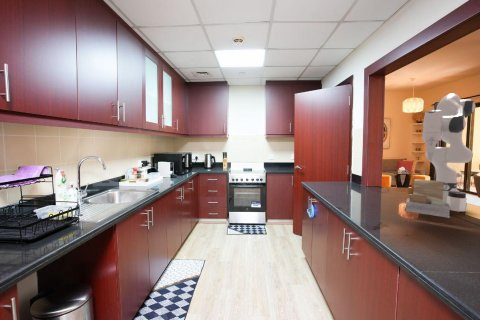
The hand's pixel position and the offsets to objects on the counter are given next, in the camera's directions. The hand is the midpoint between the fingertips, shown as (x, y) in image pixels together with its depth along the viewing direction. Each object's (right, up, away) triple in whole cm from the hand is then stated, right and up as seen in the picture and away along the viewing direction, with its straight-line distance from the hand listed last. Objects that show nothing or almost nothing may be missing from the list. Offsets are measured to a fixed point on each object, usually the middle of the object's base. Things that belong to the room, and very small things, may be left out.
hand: (429, 161), depth 144 cm
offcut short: (+1, -30, -4) cm, 30 cm away
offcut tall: (-6, -30, +2) cm, 30 cm away
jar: (+19, -31, +4) cm, 37 cm away
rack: (-2, -31, 0) cm, 31 cm away
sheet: (0, -30, +2) cm, 30 cm away
